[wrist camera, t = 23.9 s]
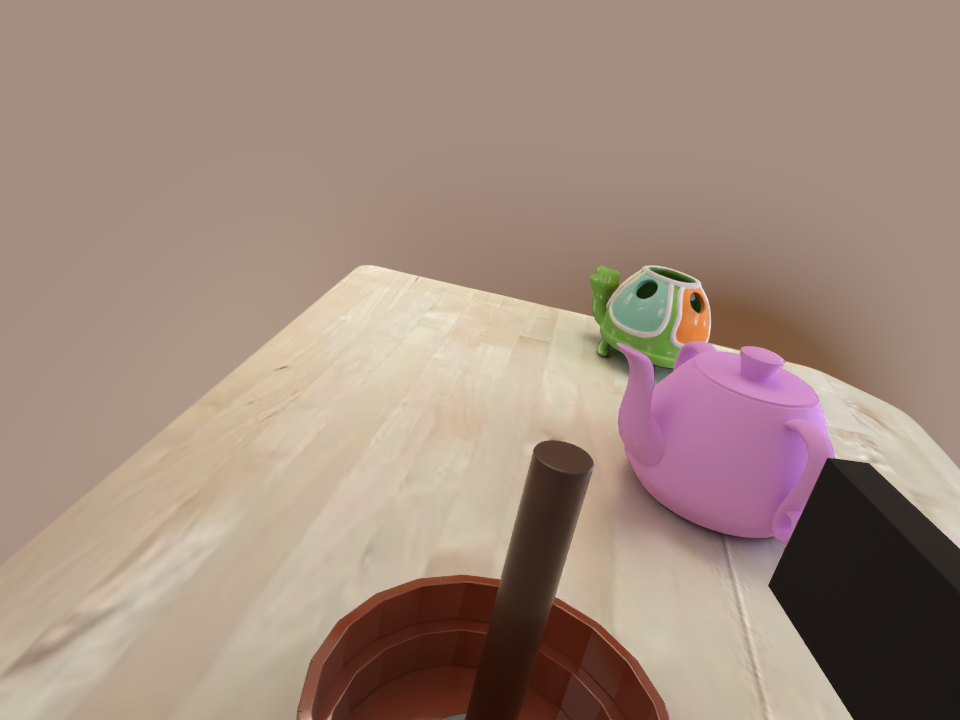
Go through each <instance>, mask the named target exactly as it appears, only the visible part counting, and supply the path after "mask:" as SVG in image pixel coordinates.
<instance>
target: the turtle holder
mask: <svg viewBox="0 0 960 720" xmlns="http://www.w3.org/2000/svg"><path fill="white" fill-rule="evenodd" d="M619 279H620V274H619V272H618V271H616V270H611V269H609V268H608V267H606V266H599V267H598V268H597V269H596V270H595V273H594V275H592V276H591V277H590V282H591V286H592V289H593V299H592V312H593V316H594V317H595V320H596V322H597V323H598V324H599V325H600V332H601V335H602V337H603V339H602V341H601V343H600V344H599V346H598V348H597V353H598V354H599V355H601V356H606V355H607V354H608V351H609V348H610V345H611V346H612V347H614V348H615V349H617V350H618V351H620V352H622V351H621V350H620V348H619V347H618V346H617V344H616V343H621V344H624V345H627V346H629V347H631V348H633V349H635V350H637V351H639V352H641V353H643V354H644V355H646V356H647V357H648V358H649V359H650V361H651V362H652V364H654V365H657V366H662V367H667V368H674V364H675V360H676V357H677V354H678V352H679V350H680V349H681V347H682V346H683V345H685V344H686V343H689V342H693V341H701V342H706V343H708V340H709V335H710V329H711V313H710V306H709V302H708V299H707V297H706V294H705V292H704V290H703V289H702V287H701V282H700V281H699V280H697V279H695V278H693V277H691V276H689V275H687V274H685V273H682V272H679V271H676V270H674V269H670V268H667V267H661V266H653V265H651V266H644V267H643V268H642V269H641V270H640V271H639V272H636V273H635V274H633V275H632V276H631V277H629V278H628V279H627V280H625V282H623V283H622V284H621V285H620V286H619ZM692 292H693V293H694V295H695V298H692V297H690V295H691V293H692ZM622 353H623V352H622Z"/></svg>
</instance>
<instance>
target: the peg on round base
mask: <svg viewBox="0 0 960 720" xmlns="http://www.w3.org/2000/svg"><path fill="white" fill-rule="evenodd" d="M593 467H594V463H593V460H592V458H591V456H590V455H589V454H588V453H587V452H586V451H584V450H583V449H581V448H579V447H577V446H575V445H573V444H570V443H567V442H563V441H555V440H550V441H543V442H541V443H539V444H537V445H536V446H535V448H534V450H533V454H532V458H531V462H530V466H529V470H528V474H527V478H526V482H525V485H524V489H523V493H522V497H521V501H520V505H519V509H518V513H517V517H516V521H515V525H514V529H513V532H512V536H511V540H510V544H509V548H508V552H507V556H506V560H505V564H504V568H503V572H502V576H501V579H500V583H499V587H498V591H497V595H496V599H495V603H494V607H493V611H492V615H491V619H490V623H489V626H488V630H487V634H486V638H485V642H484V646H483V650H482V654H481V658H480V662H479V666H478V670H477V673H476V677H475V681H474V685H473V689H472V693H471V697H470V701H469V705H468V709H467V713H461V714H455V715H451V716H448V717H445V718H443V719H441V720H518V718H519V715H520V712H521V708H522V705H523V702H524V698H525V695H526V691H527V688H528V685H529V681H530V678H531V675H532V671H533V668H534V665H535V661H536V658H537V655H538V651H539V648H540V645H541V641H542V638H543V635H544V631H545V628H546V625H547V621H548V618H549V615H550V611H551V608H552V604H553V601H554V598H555V594H556V591H557V588H558V584H559V581H560V578H561V574H562V571H563V568H564V564H565V561H566V558H567V554H568V551H569V548H570V544H571V541H572V538H573V534H574V531H575V528H576V524H577V521H578V517H579V514H580V511H581V507H582V504H583V501H584V497H585V494H586V491H587V487H588V484H589V481H590V477H591V474H592V471H593Z"/></svg>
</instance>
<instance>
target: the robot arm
mask: <svg viewBox="0 0 960 720" xmlns="http://www.w3.org/2000/svg"><path fill="white" fill-rule="evenodd" d="M768 586H769V587H770V589H771V591H772V592H773V594H774V595H775V597H776V598H777V600H778V602H779V603H780V605H781V606H782V608H783V609H784V611H785V613H786V614H787V616H788V617H789V619H790V621H791V622H792V624H793V625H794V627H795V628H796V630H797V632H798V633H799V635H800V636H801V638H802V639H803V641H804V643H805V644H806V646H807V647H808V649H809V650H810V652H811V654H812V655H813V657H814V658H815V660H816V661H817V663H818V665H819V666H820V668H821V669H822V671H823V672H824V674H825V676H826V677H827V679H828V680H829V682H830V683H831V685H832V687H833V688H834V690H835V691H836V693H837V694H838V696H839V698H840V699H841V701H842V702H843V704H844V705H845V707H846V709H847V710H848V712H849V713H850V715H851V716H852V718H853V720H960V549H959V548H958V547H957V546H956V545H955V544H954V543H953V542H952V541H951V540H950V539H949V538H948V537H947V536H946V535H945V534H944V533H942V532H941V531H940V530H939V529H938V528H937V527H936V526H935V525H934V524H933V523H932V522H931V521H930V520H929V519H928V518H926V517H925V516H924V515H923V514H922V513H921V512H920V511H919V510H918V509H917V508H916V507H915V506H914V505H913V504H912V503H911V502H909V501H908V500H907V499H906V498H905V497H904V496H903V495H902V494H901V493H900V492H899V491H898V490H897V489H896V488H895V487H894V486H892V485H891V484H890V483H889V482H888V481H887V480H886V479H885V478H884V477H883V476H882V475H881V474H880V473H879V472H878V471H876V470H875V469H874V468H873V467H872V466H871V465H870V464H869V463H863V462H856V461H848V460H841V459H834V458H827V460H826V462H825V464H824V466H823V468H822V470H821V472H820V475H819V477H818V479H817V481H816V483H815V485H814V488H813V490H812V492H811V494H810V496H809V498H808V501H807V503H806V505H805V507H804V509H803V511H802V514H801V516H800V518H799V520H798V522H797V524H796V527H795V529H794V531H793V533H792V535H791V537H790V540H789V542H788V544H787V546H786V548H785V550H784V552H783V555H782V557H781V559H780V561H779V563H778V565H777V568H776V570H775V572H774V574H773V576H772V578H771V581H770V583H769V585H768Z"/></svg>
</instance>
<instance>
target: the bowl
mask: <svg viewBox="0 0 960 720" xmlns="http://www.w3.org/2000/svg"><path fill="white" fill-rule="evenodd" d="M499 583H500V579H493V578H485V577H478V576H471V575H454V576H443V577H432V578H420V579H416V580H413V581H410V582H408V583H405V584H402V585H399V586H396V587H394V588H391V589H388V590H385V591H382V592H379V593H377V594H376V595H373V596H372V597H371V598H369V599H368V600H367V601H365V602H364V603H362V604H361V605H360V606H358V607H357V608H356V609H354V610H353V611H351V612H350V613H349V614H347V615H346V616H345V617H343V618H342V619H341V620H339V622H337V624H336V625H335V626H334V628H333V629H332V631H331V632H330V634H329V635H328V636H327V638H326V639H325V641H324V642H323V644H322V645H321V646H320V648H319V649H318V651H317V652H316V654H315V655H314V656H313V658H312V659H311V662H310V664H309V667H308V671H307V675H306V679H305V683H304V687H303V691H302V694H301V698H300V702H299V706H298V710H297V717H296V720H441V719H443V718H445V717H448V716H451V715H455V714H461V713H467V709H468V705H469V701H470V697H471V693H472V689H473V685H474V681H475V677H476V673H477V670H478V666H479V662H480V658H481V654H482V650H483V646H484V642H485V638H486V634H487V630H488V626H489V623H490V619H491V615H492V611H493V607H494V603H495V599H496V595H497V591H498V587H499ZM518 720H670V718H669V715H668V712H667V708H666V705H665V703H664V701H663V700H662V698H661V696H660V695H659V693H658V692H657V690H656V689H655V687H654V686H653V684H652V682H651V681H650V679H649V678H648V676H647V675H646V673H645V672H644V670H643V668H642V667H641V665H640V664H639V662H638V661H637V660H636V659H635V658H634V657H633V656H632V655H631V654H630V653H629V652H628V651H627V650H626V649H625V648H624V647H623V646H622V645H621V644H620V643H619V642H618V641H617V640H616V639H615V638H614V637H613V636H611V635H610V634H609V633H608V632H607V631H606V630H605V629H604V628H603V627H602V626H601V625H600V624H598V623H597V622H596V621H594V620H592V619H591V618H589V617H588V616H586V615H584V614H583V613H581V612H579V611H578V610H576V609H575V608H573V607H571V606H570V605H568V604H566V603H565V602H563V601H562V600H560V599H558V598H556V597H555V598H554V601H553V604H552V608H551V611H550V615H549V618H548V621H547V625H546V628H545V631H544V635H543V638H542V641H541V645H540V648H539V651H538V655H537V658H536V661H535V665H534V668H533V671H532V675H531V678H530V681H529V685H528V688H527V691H526V695H525V698H524V702H523V705H522V708H521V712H520V715H519V718H518Z"/></svg>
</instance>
